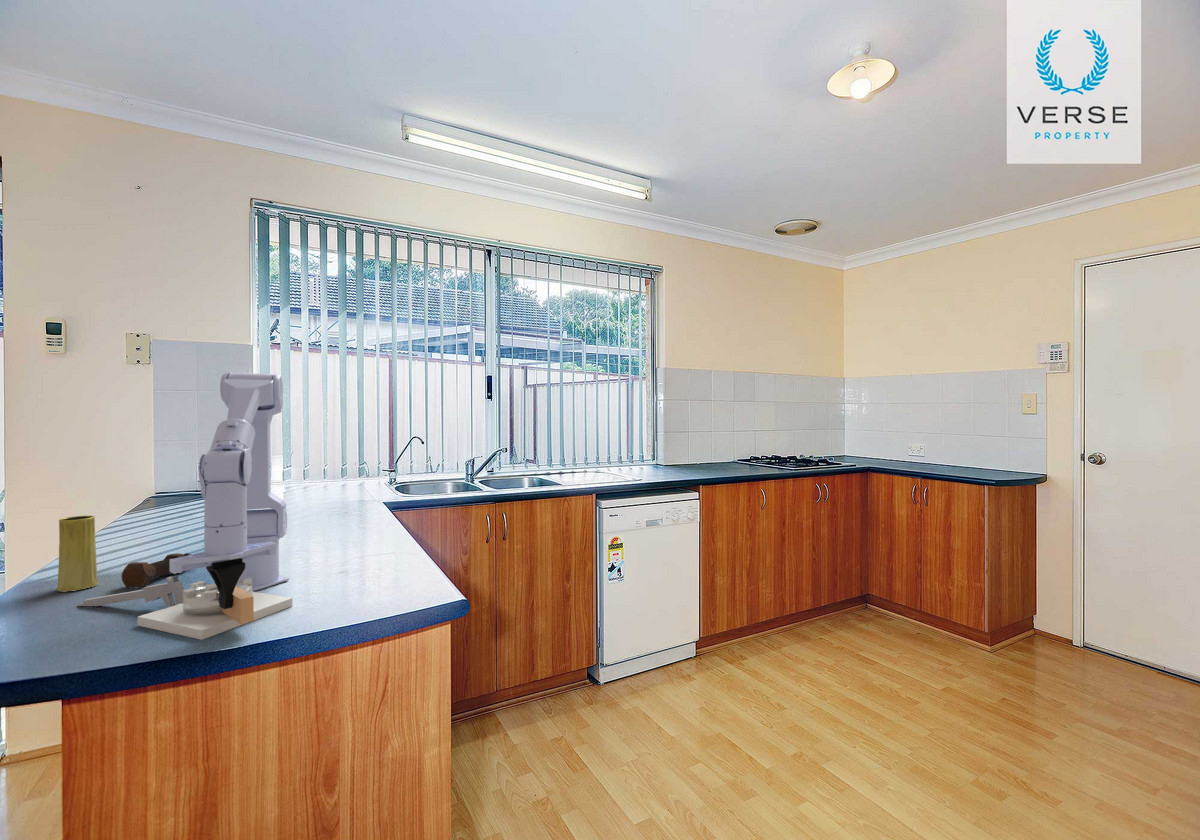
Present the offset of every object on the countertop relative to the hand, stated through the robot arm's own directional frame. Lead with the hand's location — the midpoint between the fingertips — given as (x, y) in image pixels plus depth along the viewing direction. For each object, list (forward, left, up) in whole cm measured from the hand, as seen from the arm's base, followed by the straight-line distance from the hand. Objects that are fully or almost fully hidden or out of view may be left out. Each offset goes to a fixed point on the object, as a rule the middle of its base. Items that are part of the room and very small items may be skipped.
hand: (226, 607), depth 88 cm
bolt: (-42, +15, -4) cm, 45 cm away
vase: (-50, +4, -4) cm, 50 cm away
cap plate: (-8, +4, -4) cm, 10 cm away
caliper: (-27, +1, -4) cm, 28 cm away
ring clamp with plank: (-4, +3, -2) cm, 5 cm away
